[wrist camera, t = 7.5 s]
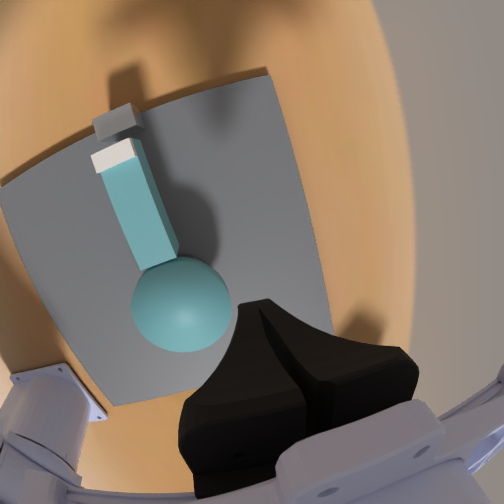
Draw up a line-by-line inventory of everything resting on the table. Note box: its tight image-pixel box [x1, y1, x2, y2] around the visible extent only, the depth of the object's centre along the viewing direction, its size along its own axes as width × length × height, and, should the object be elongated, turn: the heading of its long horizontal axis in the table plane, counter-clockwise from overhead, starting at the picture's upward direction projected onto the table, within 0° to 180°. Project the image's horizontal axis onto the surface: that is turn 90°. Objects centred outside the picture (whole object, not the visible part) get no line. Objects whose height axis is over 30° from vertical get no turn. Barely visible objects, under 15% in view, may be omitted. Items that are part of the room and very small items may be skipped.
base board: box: [0, 75, 334, 406], centre depth 21 cm, size 22×22×1 cm
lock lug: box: [92, 103, 146, 143], centre depth 15 cm, size 2×1×3 cm, turn 107°
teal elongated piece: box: [91, 138, 232, 352], centre depth 16 cm, size 13×6×3 cm, turn 18°
